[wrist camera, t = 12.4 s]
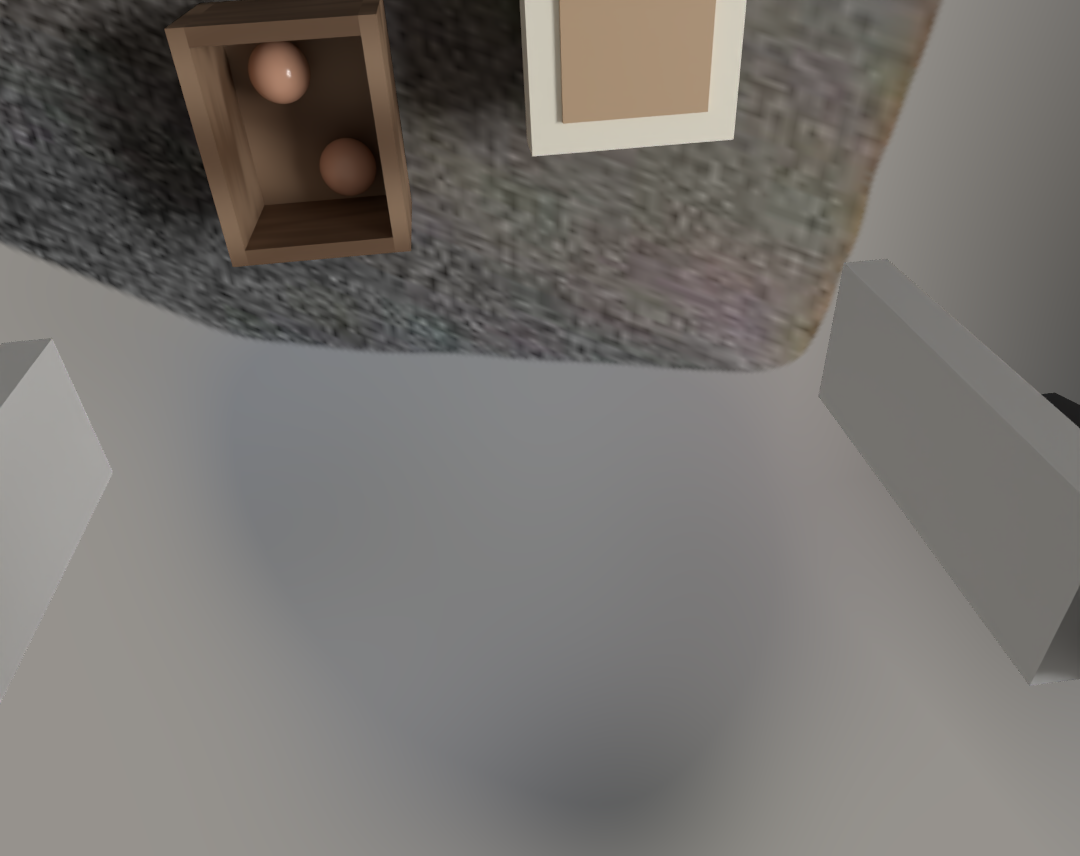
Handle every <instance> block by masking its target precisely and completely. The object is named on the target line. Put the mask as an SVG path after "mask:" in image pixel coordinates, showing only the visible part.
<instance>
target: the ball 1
mask: <svg viewBox="0 0 1080 856" xmlns="http://www.w3.org/2000/svg"><path fill="white" fill-rule="evenodd" d="M248 74H249V78H250V81H251V83H252V85H253V87H254V88H255V90H256V91H257V92H258V93H259V94H260V95H261V96H262V97H264V98H265V99H267V100H269V101H271V102H273V103H277V104H289V103H292V102H295V101H297V100H298V99H300V98H301V97H302V96H303V95H304V94H305V93H306V91H307V89H308V87H309V84H310V78H311V72H310V67H309V63H308V61H307V59H306V57H305V55H304V54H303V53H302V51H301V50H300V49H299V48H298V47H297V46H295V45H294V44H292V43H290V42H288V41H277V42H263V43H260V44H258V45H257V46H256V47H255V48H254V49H253V51H252V53H251V55H250V57H249V61H248Z"/></svg>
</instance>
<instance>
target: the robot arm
mask: <svg viewBox="0 0 1080 856" xmlns="http://www.w3.org/2000/svg"><path fill="white" fill-rule="evenodd" d="M819 398H820V399H821V400H822V402H823V403H824V404H825V406H826V407H827V409H828V410H829V411H830V413H831V414H832V415H833V417H834V418H835V420H836V421H837V422H838V424H839V425H840V426H841V428H842V429H843V430H844V432H845V433H846V435H847V436H848V437H849V439H850V440H851V442H852V443H853V444H854V446H855V447H856V448H857V450H858V451H859V453H860V454H861V455H862V457H863V458H864V459H865V461H866V462H867V463H868V465H869V466H870V468H871V469H872V470H873V472H874V473H875V474H876V476H877V477H878V479H879V480H880V481H881V483H882V484H883V485H884V487H885V488H886V490H887V491H888V492H889V494H890V495H891V496H892V498H893V499H894V501H895V502H896V503H897V505H898V506H899V507H900V509H901V510H902V512H903V513H904V514H905V516H906V517H907V518H908V520H909V521H910V522H911V524H912V525H913V527H914V528H915V529H916V531H917V532H918V533H919V535H920V536H921V538H922V539H923V540H924V542H925V543H926V544H927V546H928V547H929V549H930V550H931V551H932V553H933V554H934V555H935V557H936V558H937V559H938V561H939V562H940V563H941V565H942V566H943V568H944V569H945V571H946V572H947V573H948V575H949V576H950V577H951V579H952V580H953V581H954V583H955V584H956V586H957V587H958V588H959V590H960V591H961V592H962V594H963V595H964V597H965V598H966V599H967V601H968V602H969V603H970V605H971V606H972V608H973V609H974V610H975V612H976V613H977V614H978V616H979V617H980V618H981V620H982V621H983V623H984V624H985V625H986V627H987V628H988V629H989V631H990V632H991V634H992V635H993V636H994V638H995V639H996V640H997V641H998V643H999V645H1000V646H1001V647H1002V649H1003V650H1004V651H1005V653H1006V654H1007V656H1008V657H1009V658H1010V660H1011V661H1012V662H1013V664H1014V665H1015V666H1016V668H1017V669H1018V671H1019V672H1020V673H1021V675H1022V676H1023V678H1024V679H1025V680H1026V682H1027V683H1028V684H1029V686H1032V685H1039V684H1046V683H1053V682H1061V681H1068V680H1075V679H1080V405H1078V404H1077V403H1075V402H1072V401H1071V400H1069V399H1066V398H1065V397H1062V396H1060V395H1058V394H1056V393H1048V394H1040V393H1039V392H1038V391H1037V390H1036V389H1034V388H1033V387H1032V386H1031V385H1030V384H1029V383H1028V382H1026V381H1025V380H1024V379H1023V378H1022V377H1020V375H1019V374H1017V373H1016V372H1015V371H1014V370H1013V369H1012V368H1010V367H1009V366H1008V365H1007V364H1006V363H1005V362H1004V361H1003V360H1001V359H1000V358H999V357H998V356H997V355H996V354H994V353H993V352H992V351H991V350H990V349H989V348H988V347H987V346H986V345H984V344H983V343H982V342H981V341H980V340H979V339H978V338H976V337H975V336H974V335H973V334H972V333H971V332H970V331H968V330H967V329H966V328H965V327H963V325H962V324H960V323H959V322H958V321H957V320H956V319H955V318H953V317H952V316H951V315H950V314H949V313H948V312H947V311H946V310H945V309H943V308H942V307H941V306H940V305H939V304H938V303H937V302H935V301H934V300H933V299H932V298H931V297H930V296H929V295H928V294H926V293H925V292H924V291H923V290H922V289H920V288H919V287H918V286H917V285H916V284H915V283H914V282H913V281H912V280H910V279H909V278H908V277H907V276H906V275H905V274H904V273H902V272H901V271H900V270H899V269H898V268H897V267H896V266H895V265H893V264H892V263H891V262H890V261H889V260H888V259H879V260H869V261H859V262H848V263H844V265H843V271H842V276H841V281H840V286H839V292H838V297H837V302H836V307H835V313H834V318H833V323H832V328H831V334H830V339H829V344H828V350H827V355H826V360H825V366H824V370H823V376H822V381H821V386H820V392H819ZM112 473H113V471H112V469H111V467H110V464H109V462H108V460H107V458H106V456H105V453H104V451H103V449H102V447H101V445H100V442H99V440H98V438H97V436H96V434H95V432H94V429H93V427H92V425H91V423H90V420H89V418H88V416H87V414H86V412H85V409H84V407H83V405H82V403H81V401H80V398H79V396H78V394H77V392H76V390H75V387H74V385H73V383H72V381H71V379H70V376H69V375H68V372H67V370H66V368H65V365H64V363H63V361H62V359H61V357H60V354H59V352H58V350H57V348H56V346H55V343H54V341H53V339H52V338H51V339H39V340H29V341H18V342H9V343H2V344H1V345H0V703H1V701H2V699H3V697H4V695H5V693H6V691H7V689H8V687H9V685H10V683H11V681H12V679H13V677H14V675H15V673H16V670H17V668H18V666H19V664H20V662H21V660H22V658H23V656H24V654H25V652H26V650H27V648H28V646H29V644H30V641H31V640H32V638H33V636H34V634H35V631H36V629H37V627H38V625H39V623H40V621H41V619H42V617H43V615H44V613H45V611H46V609H47V607H48V605H49V603H50V601H51V599H52V596H53V594H54V592H55V590H56V588H57V586H58V584H59V582H60V580H61V578H62V576H63V574H64V572H65V570H66V568H67V565H68V564H69V562H70V560H71V558H72V556H73V553H74V551H75V549H76V547H77V545H78V543H79V541H80V539H81V537H82V535H83V533H84V531H85V529H86V527H87V525H88V523H89V521H90V519H91V517H92V514H93V512H94V510H95V508H96V506H97V504H98V502H99V500H100V498H101V496H102V494H103V492H104V490H105V488H106V486H107V484H108V482H109V479H110V477H111V475H112Z"/></svg>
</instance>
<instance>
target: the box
mask: <svg viewBox="0 0 1080 856" xmlns="http://www.w3.org/2000/svg"><path fill="white" fill-rule="evenodd" d="M165 33H166V36H167V40H168V43H169V47H170V50H171V54H172V57H173V61H174V64H175V68H176V71H177V75H178V78H179V82H180V85H181V88H182V92H183V95H184V99H185V102H186V106H187V109H188V113H189V116H190V120H191V123H192V127H193V130H194V134H195V137H196V141H197V144H198V148H199V151H200V154H201V158H202V161H203V165H204V168H205V172H206V175H207V179H208V182H209V186H210V189H211V193H212V196H213V200H214V203H215V207H216V210H217V213H218V217H219V220H220V224H221V227H222V231H223V234H224V238H225V241H226V245H227V248H228V252H229V255H230V259H231V262H232V266H233V267H238V266H249V265H260V264H271V263H283V262H294V261H305V260H316V259H327V258H338V257H349V256H360V255H371V254H382V253H393V252H404V251H411V222H412V200H411V193H410V186H409V179H408V172H407V165H406V158H405V151H404V144H403V136H402V129H401V122H400V115H399V108H398V101H397V94H396V87H395V80H394V72H393V65H392V58H391V51H390V44H389V37H388V30H387V23H386V16H385V9H384V1H383V0H241V1H226V2H211V3H199V4H198V5H197V6H195V7H194V8H193V9H191V10H190V11H188V12H187V13H186V14H184V15H183V16H181V17H180V18H179V19H177V20H176V21H174V22H173V23H172V24H170V25H169V26H168V27H166V28H165ZM277 41H288V42H290V43H292V44H294V45H295V46H297V47H298V48H299V49H300V50H301V51H302V53H303V54H304V55H305V57H306V59H307V61H308V63H309V67H310V72H311V78H310V84H309V87H308V89H307V91H306V93H305V94H304V95H303V96H302V97H301V98H300V99H298V100H297V101H295V102H292V103H289V104H277V103H273V102H271V101H269V100H267V99H265V98H264V97H262V96H261V95H260V94H259V93H258V92H257V91H256V90H255V88H254V87H253V85H252V83H251V81H250V78H249V74H248V61H249V57H250V55H251V53H252V51H253V49H254V48H255V47H256V46H257V45H258V44H260V43H263V42H277ZM340 138H352V139H356V140H358V141H360V142H362V143H363V144H365V145H366V146H367V147H368V148H369V149H370V151H371V152H372V154H373V156H374V158H375V161H376V168H377V169H376V177H375V180H374V182H373V184H372V185H371V186H370V188H369V189H368V190H366V191H365V192H363V193H362V194H359V195H356V196H344V195H341V194H338V193H336V192H334V191H333V190H332V189H330V188H329V187H328V186H327V185H326V183H325V182H324V180H323V178H322V176H321V173H320V167H319V163H320V157H321V154H322V152H323V150H324V149H325V147H326V146H327V145H328V144H329V143H331V142H332V141H334V140H336V139H340Z"/></svg>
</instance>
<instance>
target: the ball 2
mask: <svg viewBox="0 0 1080 856" xmlns="http://www.w3.org/2000/svg"><path fill="white" fill-rule="evenodd" d="M319 167H320V173H321V176H322V178H323V180H324V182H325V183H326V185H327V186H328V187H329V188H330V189H332V190H333V191H334V192H336V193H338V194H341V195H344V196H356V195H359V194H362V193H363V192H365V191H366V190H368V189H369V188H370V186H371V185H372V184H373V182H374V180H375V177H376V169H377V168H376V161H375V158H374V156H373V154H372V152H371V151H370V149H369V148H368V147H367V146H366V145H365V144H363V143H362V142H360V141H358V140H356V139H352V138H340V139H336V140H334V141H332V142H331V143H329V144H328V145H327V146H326V147H325V149H324V150H323V152H322V154H321V157H320V163H319Z"/></svg>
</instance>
